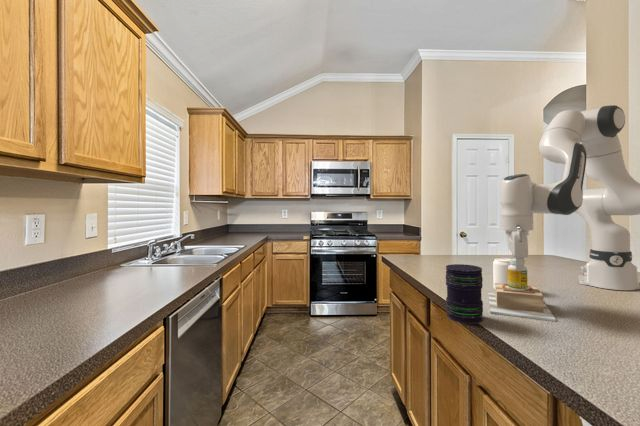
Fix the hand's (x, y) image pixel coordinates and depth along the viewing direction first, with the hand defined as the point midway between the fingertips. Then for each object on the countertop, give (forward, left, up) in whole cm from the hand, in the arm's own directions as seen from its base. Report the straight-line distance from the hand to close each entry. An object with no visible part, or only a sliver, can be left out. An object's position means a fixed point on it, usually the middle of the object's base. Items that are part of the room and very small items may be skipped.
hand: (517, 266), depth 98 cm
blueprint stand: (0, 0, -13) cm, 13 cm away
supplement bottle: (0, 0, -7) cm, 7 cm away
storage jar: (+18, -15, -13) cm, 27 cm away
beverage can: (-19, -2, -13) cm, 23 cm away
